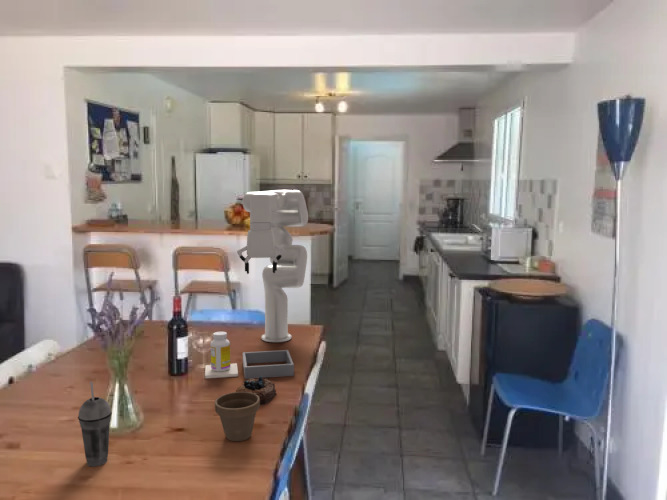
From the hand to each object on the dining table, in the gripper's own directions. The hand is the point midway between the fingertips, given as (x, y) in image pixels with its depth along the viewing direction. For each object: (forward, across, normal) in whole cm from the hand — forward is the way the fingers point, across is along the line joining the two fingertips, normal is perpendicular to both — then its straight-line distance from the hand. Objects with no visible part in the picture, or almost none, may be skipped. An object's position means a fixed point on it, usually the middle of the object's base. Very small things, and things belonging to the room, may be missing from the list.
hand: (260, 272), depth 206 cm
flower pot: (+32, +11, +65) cm, 74 cm away
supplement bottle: (+32, +15, +14) cm, 38 cm away
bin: (+32, -1, +14) cm, 35 cm away
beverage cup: (+32, +44, +72) cm, 90 cm away
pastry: (+33, +5, +39) cm, 51 cm away
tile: (+32, +15, +14) cm, 38 cm away
